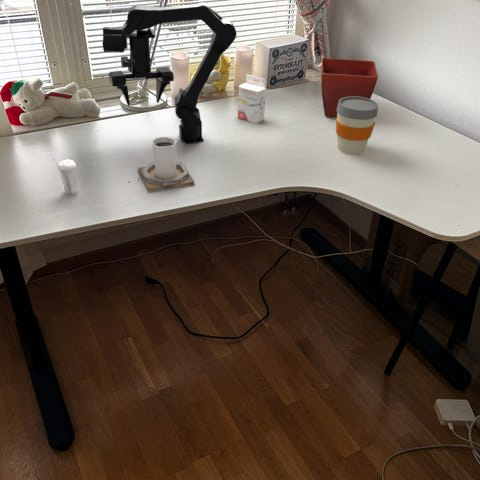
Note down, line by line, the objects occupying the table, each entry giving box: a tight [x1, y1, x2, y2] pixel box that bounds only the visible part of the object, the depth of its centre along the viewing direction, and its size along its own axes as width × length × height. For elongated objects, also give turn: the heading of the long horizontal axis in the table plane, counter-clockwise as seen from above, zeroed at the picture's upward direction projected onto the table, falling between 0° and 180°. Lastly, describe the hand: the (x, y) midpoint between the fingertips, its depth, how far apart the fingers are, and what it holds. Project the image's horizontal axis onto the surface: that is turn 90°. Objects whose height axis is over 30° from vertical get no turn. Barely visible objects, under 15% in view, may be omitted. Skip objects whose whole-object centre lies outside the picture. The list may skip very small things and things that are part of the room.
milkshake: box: [52, 158, 78, 196], centre depth 138 cm, size 4×5×10 cm
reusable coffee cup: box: [335, 96, 379, 155], centre depth 164 cm, size 13×13×15 cm
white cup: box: [151, 136, 177, 179], centre depth 146 cm, size 7×7×10 cm
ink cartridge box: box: [237, 74, 267, 124], centre depth 182 cm, size 9×5×15 cm, turn 58°
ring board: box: [137, 161, 195, 193], centre depth 148 cm, size 13×13×2 cm
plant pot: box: [320, 57, 379, 119], centre depth 189 cm, size 19×19×17 cm
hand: (143, 104), depth 162 cm, fingers open, 9 cm apart
